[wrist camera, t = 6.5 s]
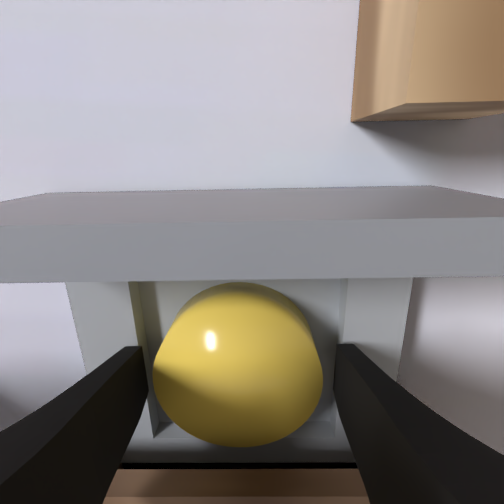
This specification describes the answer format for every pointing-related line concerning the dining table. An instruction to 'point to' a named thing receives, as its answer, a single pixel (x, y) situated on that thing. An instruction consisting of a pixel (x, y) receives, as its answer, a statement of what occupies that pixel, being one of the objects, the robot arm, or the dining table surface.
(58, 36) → the dining table surface
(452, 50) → the block
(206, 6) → the dining table surface
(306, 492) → the housing
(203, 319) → the yellow flat dome
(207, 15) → the dining table surface
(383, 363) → the tray
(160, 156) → the dining table surface
